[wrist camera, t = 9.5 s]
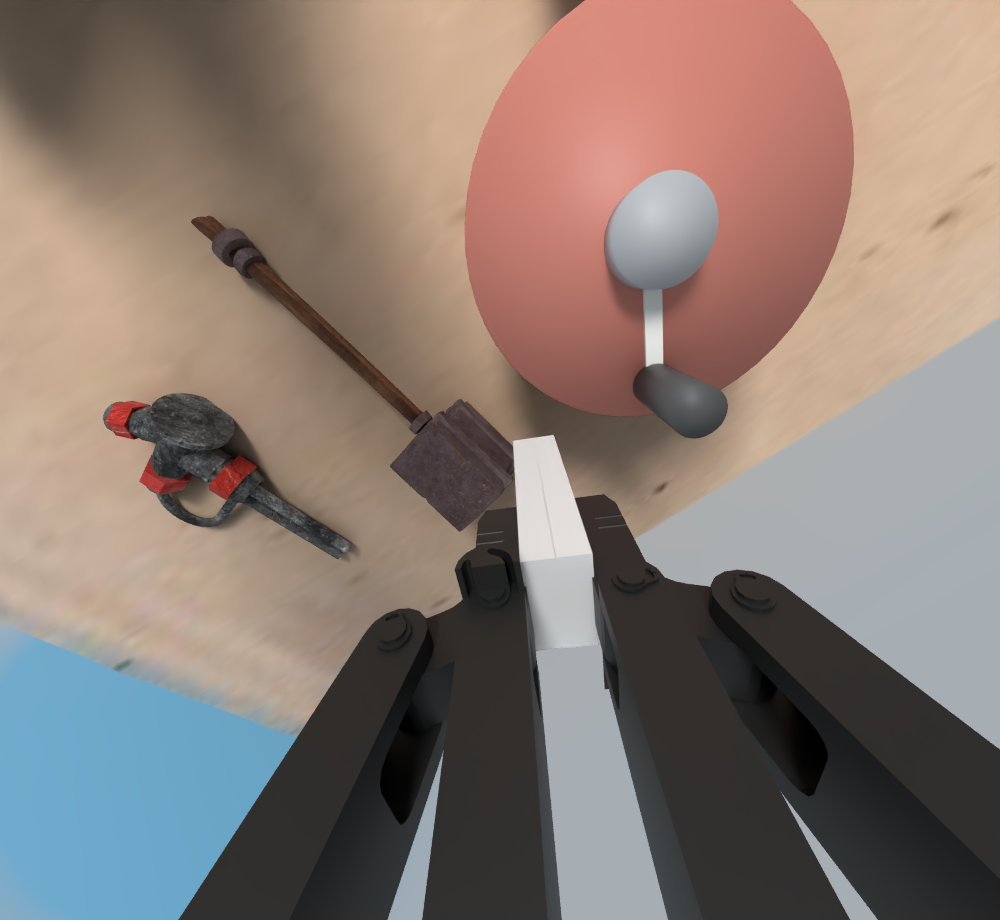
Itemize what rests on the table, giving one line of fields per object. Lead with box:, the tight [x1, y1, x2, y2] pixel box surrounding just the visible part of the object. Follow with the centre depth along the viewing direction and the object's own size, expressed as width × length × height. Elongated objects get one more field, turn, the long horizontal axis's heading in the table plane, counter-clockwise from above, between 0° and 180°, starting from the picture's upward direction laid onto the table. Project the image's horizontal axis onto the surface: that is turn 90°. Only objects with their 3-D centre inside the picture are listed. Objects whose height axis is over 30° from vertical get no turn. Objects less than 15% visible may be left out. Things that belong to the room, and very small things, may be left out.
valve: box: [103, 393, 352, 559], centre depth 40 cm, size 6×26×15 cm
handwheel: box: [465, 0, 854, 438], centre depth 19 cm, size 20×20×10 cm
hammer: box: [191, 216, 515, 531], centre depth 32 cm, size 7×33×10 cm, turn 47°
